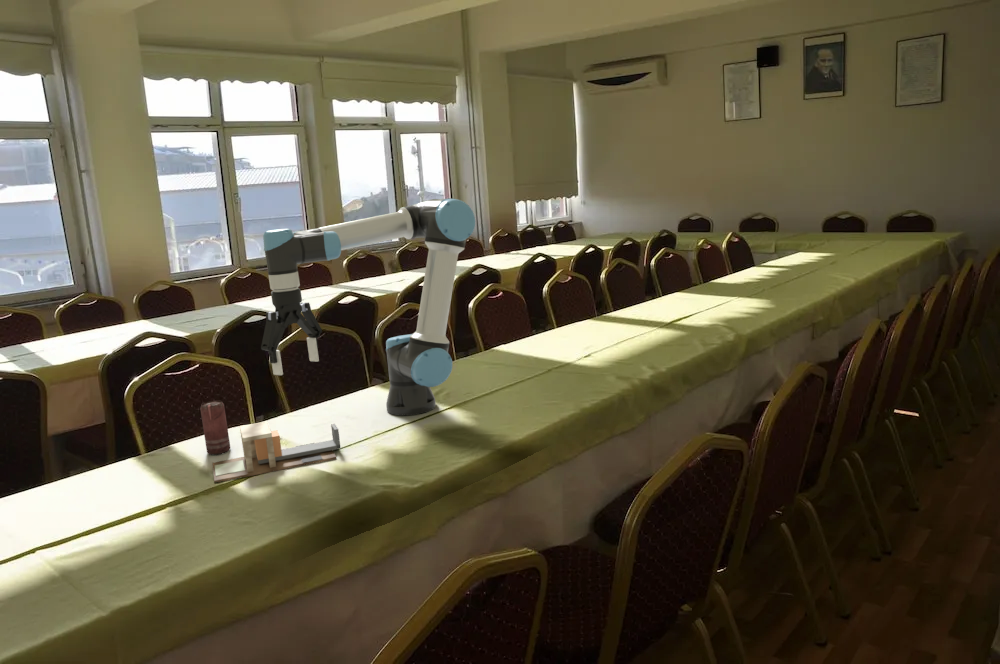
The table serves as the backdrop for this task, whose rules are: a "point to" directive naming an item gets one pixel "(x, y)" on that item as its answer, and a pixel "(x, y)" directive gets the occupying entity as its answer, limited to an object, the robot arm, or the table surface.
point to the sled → (294, 451)
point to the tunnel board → (249, 461)
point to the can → (215, 427)
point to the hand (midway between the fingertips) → (296, 367)
